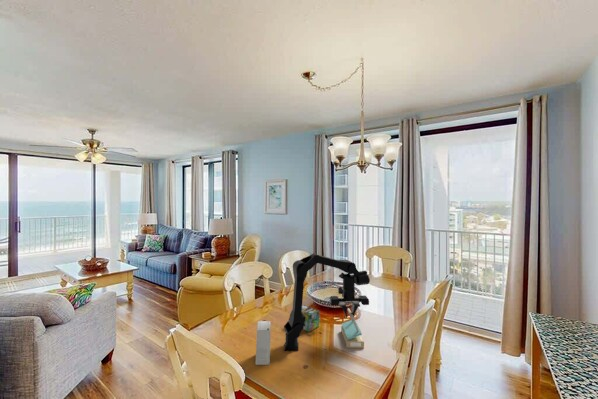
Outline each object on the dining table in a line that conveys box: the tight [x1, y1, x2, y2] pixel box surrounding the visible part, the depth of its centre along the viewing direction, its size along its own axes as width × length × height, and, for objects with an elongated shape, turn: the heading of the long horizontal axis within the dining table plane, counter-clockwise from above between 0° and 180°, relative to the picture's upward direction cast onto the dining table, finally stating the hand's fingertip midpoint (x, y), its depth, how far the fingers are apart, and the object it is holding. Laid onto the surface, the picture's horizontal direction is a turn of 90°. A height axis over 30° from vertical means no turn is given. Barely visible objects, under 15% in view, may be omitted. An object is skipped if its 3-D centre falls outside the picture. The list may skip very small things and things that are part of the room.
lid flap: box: [341, 307, 363, 340], centre depth 132 cm, size 15×7×8 cm, turn 0°
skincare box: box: [254, 320, 272, 366], centre depth 114 cm, size 8×6×15 cm
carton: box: [340, 325, 365, 349], centre depth 132 cm, size 16×8×3 cm, turn 0°
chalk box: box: [302, 304, 322, 333], centre depth 144 cm, size 9×9×15 cm
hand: (349, 317), depth 132 cm, fingers open, 3 cm apart
